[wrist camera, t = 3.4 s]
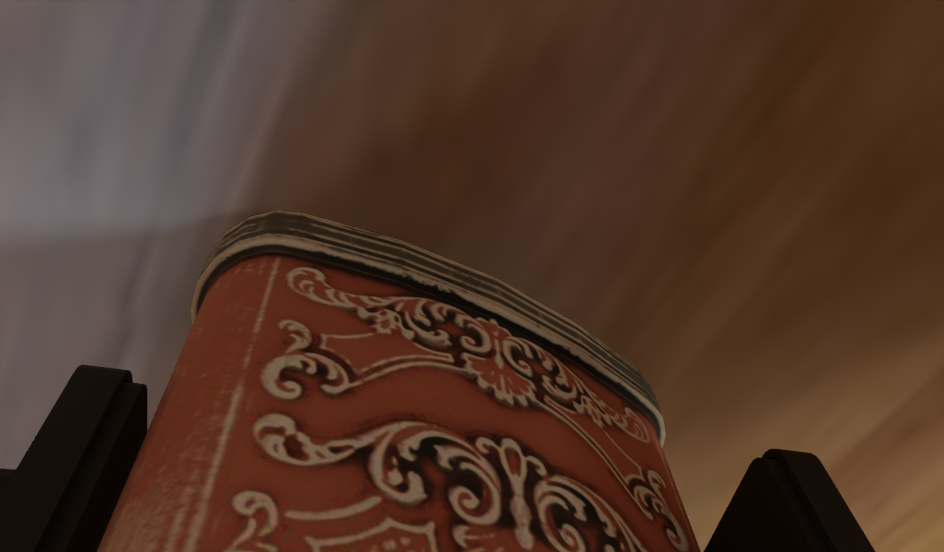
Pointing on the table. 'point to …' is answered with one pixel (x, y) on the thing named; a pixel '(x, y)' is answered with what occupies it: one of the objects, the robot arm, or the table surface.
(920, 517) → the table surface
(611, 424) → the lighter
